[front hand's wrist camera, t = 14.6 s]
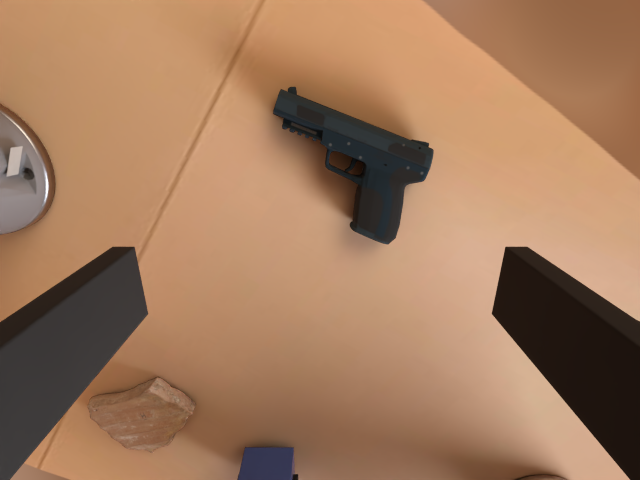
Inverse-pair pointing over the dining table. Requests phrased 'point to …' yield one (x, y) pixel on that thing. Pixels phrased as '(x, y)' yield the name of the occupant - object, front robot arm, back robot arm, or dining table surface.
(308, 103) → the handgun
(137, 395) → the stone
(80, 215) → the dining table surface
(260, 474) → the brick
